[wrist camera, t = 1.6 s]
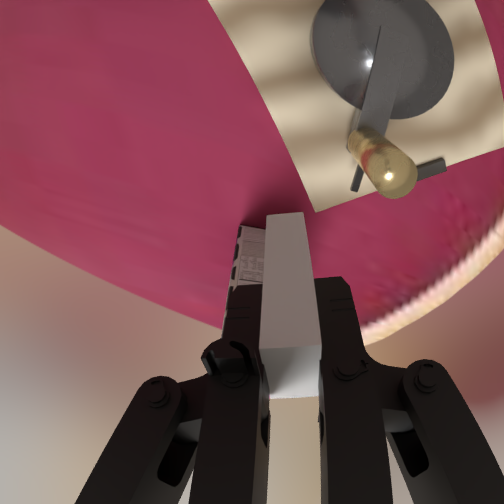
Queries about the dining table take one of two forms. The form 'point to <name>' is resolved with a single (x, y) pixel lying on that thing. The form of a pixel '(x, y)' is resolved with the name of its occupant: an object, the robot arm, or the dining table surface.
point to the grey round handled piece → (382, 77)
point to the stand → (342, 113)
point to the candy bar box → (247, 260)
